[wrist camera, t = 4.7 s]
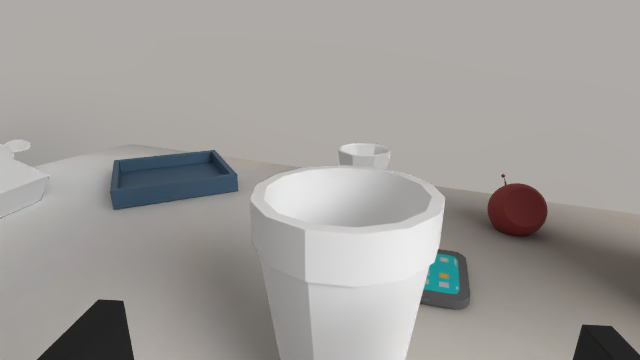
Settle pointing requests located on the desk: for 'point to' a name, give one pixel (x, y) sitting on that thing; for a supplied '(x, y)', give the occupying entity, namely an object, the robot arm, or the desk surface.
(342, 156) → the cup
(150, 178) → the tray
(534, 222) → the fruit
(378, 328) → the foam cup
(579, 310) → the desk surface
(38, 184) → the tape dispenser
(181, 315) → the desk surface
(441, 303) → the smartphone
